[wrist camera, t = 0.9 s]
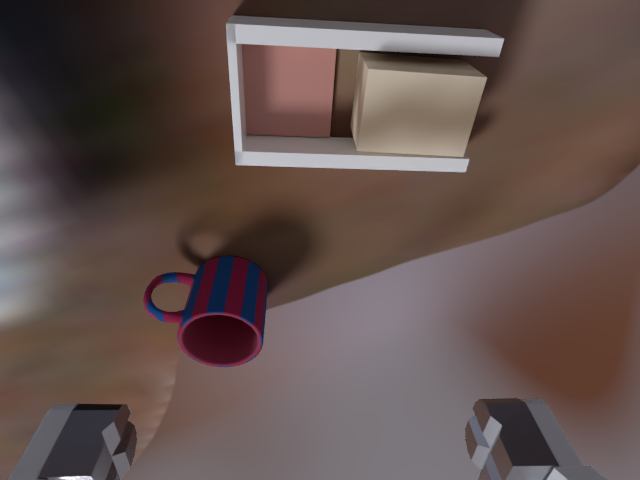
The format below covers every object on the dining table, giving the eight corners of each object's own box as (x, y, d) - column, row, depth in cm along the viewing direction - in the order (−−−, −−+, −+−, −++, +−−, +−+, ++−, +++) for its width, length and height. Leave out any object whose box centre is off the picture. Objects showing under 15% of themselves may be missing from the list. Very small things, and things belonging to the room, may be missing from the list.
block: (359, 51, 27) (368, 69, 23) (462, 59, 28) (487, 77, 24) (350, 125, 30) (356, 151, 26) (443, 131, 31) (463, 157, 27)
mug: (245, 318, 41) (237, 376, 36) (148, 276, 37) (122, 334, 32) (281, 276, 38) (278, 333, 33) (180, 225, 34) (157, 280, 29)
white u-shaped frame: (232, 15, 25) (225, 23, 23) (485, 29, 26) (504, 38, 24) (240, 146, 30) (235, 164, 28) (452, 154, 31) (465, 172, 29)
